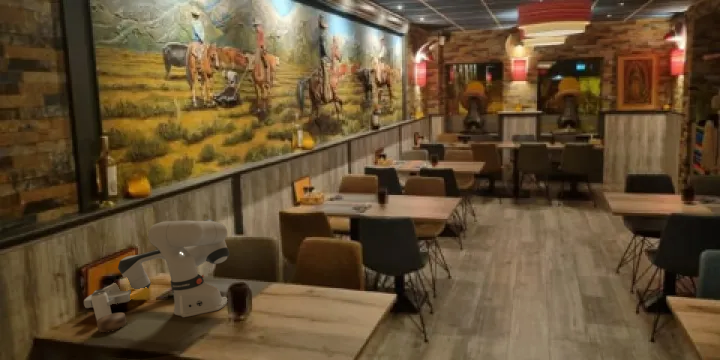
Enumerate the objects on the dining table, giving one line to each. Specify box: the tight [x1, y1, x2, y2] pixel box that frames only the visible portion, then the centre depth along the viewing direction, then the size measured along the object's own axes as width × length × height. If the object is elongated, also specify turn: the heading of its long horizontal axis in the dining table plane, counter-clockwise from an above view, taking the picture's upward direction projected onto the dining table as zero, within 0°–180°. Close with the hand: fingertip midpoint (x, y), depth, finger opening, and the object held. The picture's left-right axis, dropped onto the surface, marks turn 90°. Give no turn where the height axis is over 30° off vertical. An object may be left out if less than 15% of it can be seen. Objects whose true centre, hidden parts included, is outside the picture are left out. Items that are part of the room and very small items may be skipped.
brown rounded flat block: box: [96, 312, 127, 333], centre depth 239 cm, size 11×11×4 cm
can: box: [91, 291, 113, 321], centre depth 250 cm, size 6×6×12 cm
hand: (100, 305), depth 249 cm, fingers closed on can, 4 cm apart
